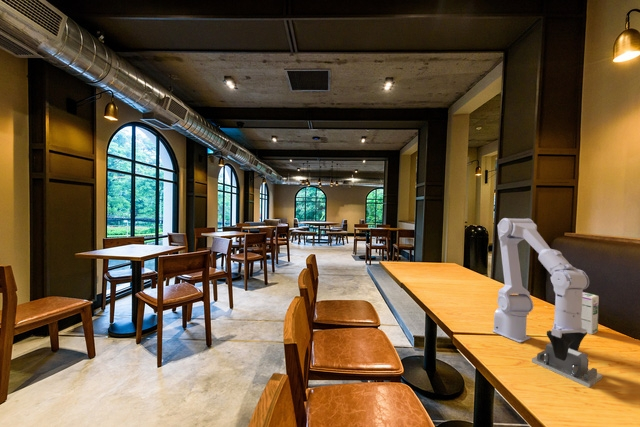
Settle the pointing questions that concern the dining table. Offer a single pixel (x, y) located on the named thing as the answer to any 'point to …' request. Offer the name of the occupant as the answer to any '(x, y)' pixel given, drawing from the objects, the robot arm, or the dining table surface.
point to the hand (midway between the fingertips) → (565, 355)
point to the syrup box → (590, 312)
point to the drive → (569, 360)
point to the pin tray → (585, 379)
